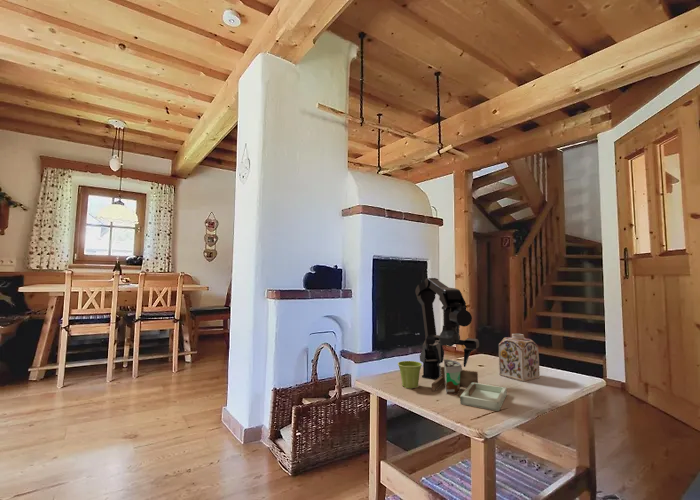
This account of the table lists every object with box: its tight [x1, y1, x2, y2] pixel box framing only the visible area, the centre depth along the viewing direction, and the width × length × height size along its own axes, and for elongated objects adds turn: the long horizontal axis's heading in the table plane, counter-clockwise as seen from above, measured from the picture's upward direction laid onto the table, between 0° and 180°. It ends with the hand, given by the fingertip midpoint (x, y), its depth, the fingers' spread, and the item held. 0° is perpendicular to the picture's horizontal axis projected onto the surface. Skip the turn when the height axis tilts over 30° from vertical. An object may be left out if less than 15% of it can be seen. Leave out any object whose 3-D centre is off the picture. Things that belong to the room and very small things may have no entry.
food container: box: [443, 358, 463, 395], centre depth 130 cm, size 12×6×10 cm, turn 168°
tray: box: [459, 382, 508, 412], centre depth 121 cm, size 12×18×3 cm, turn 149°
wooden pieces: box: [431, 366, 479, 396], centre depth 131 cm, size 14×13×6 cm
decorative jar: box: [498, 333, 541, 383], centre depth 149 cm, size 12×12×18 cm
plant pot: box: [397, 360, 423, 389], centre depth 135 cm, size 9×9×9 cm
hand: (452, 364), depth 129 cm, fingers open, 9 cm apart
